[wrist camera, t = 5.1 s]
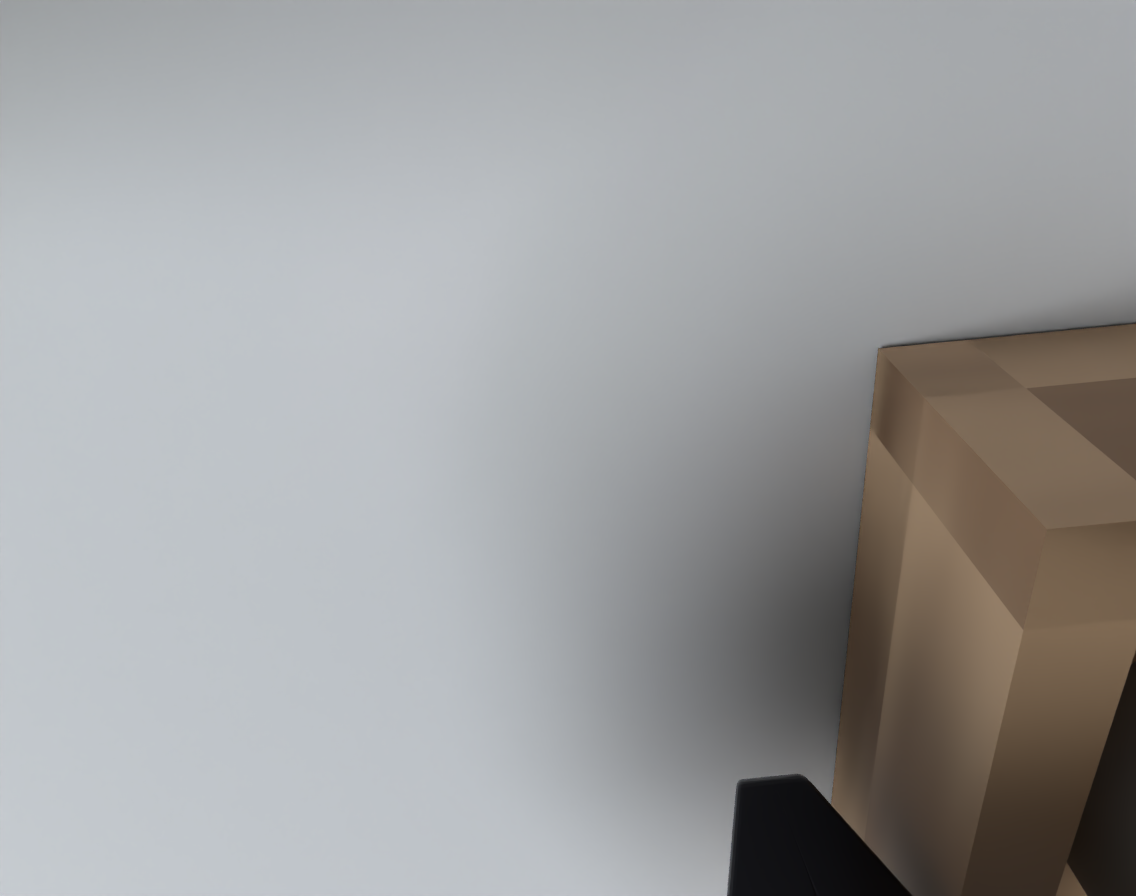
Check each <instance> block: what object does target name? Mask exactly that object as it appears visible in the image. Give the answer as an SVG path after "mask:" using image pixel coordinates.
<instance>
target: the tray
mask: <svg viewBox="0 0 1136 896" xmlns="http://www.w3.org/2000/svg"><path fill="white" fill-rule="evenodd" d="M831 805H832V806H833V808H834V809H835V810H836V811H837V812H838V813H839V814H840V815H841V816H842V818H843V819H844V820H845V821H846V822H847V823H848V824H849V825H850V826H851V828H852V829H853V830H854V831H855V832H856V833H857V834H858V835H859V836H860V838H861V839H862V840H863V841H864V842H865V843H866V844H867V845H868V847H869V848H870V849H871V850H872V851H873V852H874V853H875V854H876V855H877V857H878V858H879V859H880V860H881V861H882V862H883V863H884V864H885V865H886V867H887V868H888V869H889V870H890V871H891V872H892V873H893V874H894V875H895V877H896V878H897V879H898V880H899V881H900V882H901V883H902V884H903V885H904V887H905V888H906V889H907V890H908V891H909V892H910V893H911V894H912V896H1136V324H1127V325H1117V326H1106V327H1096V328H1085V329H1075V330H1065V331H1054V332H1044V333H1034V334H1023V335H1013V336H1003V337H992V338H982V339H972V340H961V341H951V342H941V343H930V344H920V345H909V346H899V347H889V348H878V356H877V365H876V375H875V385H874V394H873V404H872V414H871V423H870V433H869V443H868V452H867V462H866V472H865V482H864V491H863V501H862V511H861V520H860V530H859V540H858V549H857V559H856V569H855V578H854V588H853V598H852V607H851V617H850V627H849V636H848V646H847V656H846V665H845V675H844V685H843V694H842V704H841V714H840V723H839V733H838V743H837V752H836V762H835V772H834V782H833V791H832V801H831Z"/></svg>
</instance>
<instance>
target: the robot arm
mask: <svg viewBox="0 0 1136 896" xmlns="http://www.w3.org/2000/svg"><path fill="white" fill-rule="evenodd" d="M727 896H912V894H911V893H910V892H909V891H908V890H907V889H906V888H905V887H904V885H903V884H902V883H901V882H900V881H899V880H898V879H897V878H896V877H895V875H894V874H893V873H892V872H891V871H890V870H889V869H888V868H887V867H886V865H885V864H884V863H883V862H882V861H881V860H880V859H879V858H878V857H877V855H876V854H875V853H874V852H873V851H872V850H871V849H870V848H869V847H868V845H867V844H866V843H865V842H864V841H863V840H862V839H861V838H860V836H859V835H858V834H857V833H856V832H855V831H854V830H853V829H852V828H851V826H850V825H849V824H848V823H847V822H846V821H845V820H844V819H843V818H842V816H841V815H840V814H839V813H838V812H837V811H836V810H835V809H834V808H833V806H832V805H831V804H830V803H829V802H828V801H827V800H826V799H825V798H824V796H823V795H822V794H821V793H820V792H819V791H818V790H817V789H816V787H815V786H814V785H813V784H812V783H811V782H810V781H809V780H808V779H807V778H806V777H804V776H802V775H800V774H790V775H780V776H770V777H761V778H751V779H742V780H740V781H739V782H738V783H737V786H736V796H735V807H734V819H733V831H732V843H731V854H730V866H729V878H728V890H727Z"/></svg>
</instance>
